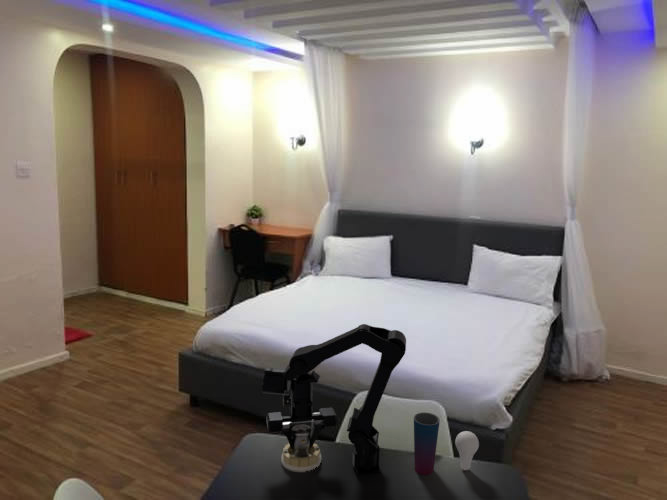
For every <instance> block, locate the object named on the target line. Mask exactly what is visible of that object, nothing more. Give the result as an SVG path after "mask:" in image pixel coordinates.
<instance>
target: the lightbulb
mask: <svg viewBox="0 0 667 500" xmlns="http://www.w3.org/2000/svg"><path fill="white" fill-rule="evenodd" d="M454 442H455V444H454V445H455V447H456V449H457V452H458V454H459V461H460V468H461V469H462V470H463V471H469V470H470V469H471V463H472V462H473V457H474V456H475V454H476V453H477V451H478V449H479V446H480V442H479V438H478V436H476V434H475V433H474V432H472V431H470V430H469V431H468V430H464V431H461V432H459V433H458V434H457V435H456V438H455V440H454Z"/></svg>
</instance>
